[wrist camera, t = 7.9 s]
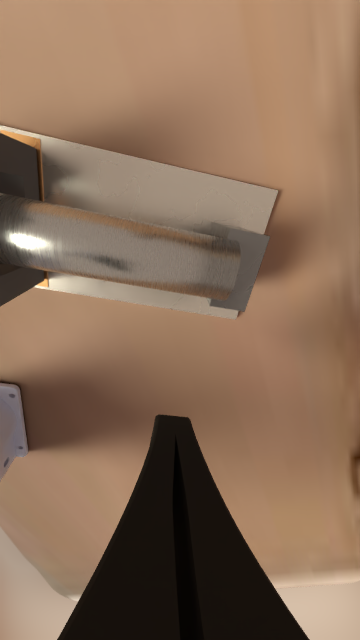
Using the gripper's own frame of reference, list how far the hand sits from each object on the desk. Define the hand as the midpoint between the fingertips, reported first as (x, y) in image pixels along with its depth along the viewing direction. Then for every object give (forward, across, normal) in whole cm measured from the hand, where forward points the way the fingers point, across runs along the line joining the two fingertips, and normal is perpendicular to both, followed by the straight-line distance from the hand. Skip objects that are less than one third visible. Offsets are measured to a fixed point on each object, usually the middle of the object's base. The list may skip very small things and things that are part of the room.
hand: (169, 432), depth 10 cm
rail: (+10, +6, -6) cm, 13 cm away
